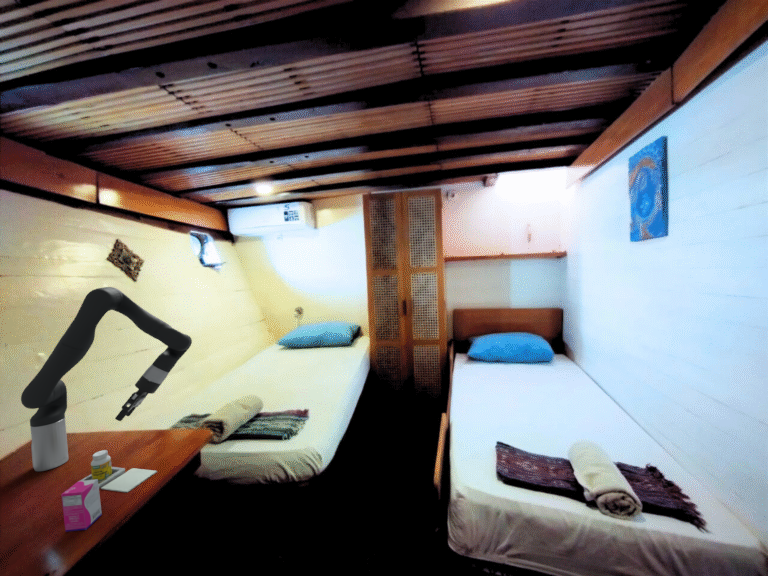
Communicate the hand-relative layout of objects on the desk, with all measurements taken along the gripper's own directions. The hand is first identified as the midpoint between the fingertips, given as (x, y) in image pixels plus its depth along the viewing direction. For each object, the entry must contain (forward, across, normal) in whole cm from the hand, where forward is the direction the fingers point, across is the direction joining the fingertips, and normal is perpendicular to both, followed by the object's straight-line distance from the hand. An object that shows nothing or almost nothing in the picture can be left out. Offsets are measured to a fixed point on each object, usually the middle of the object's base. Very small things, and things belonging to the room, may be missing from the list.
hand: (122, 417), depth 119 cm
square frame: (+19, +2, +8) cm, 20 cm away
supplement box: (+21, +25, +14) cm, 36 cm away
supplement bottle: (+19, +2, +8) cm, 21 cm away
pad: (+14, +7, +16) cm, 23 cm away
